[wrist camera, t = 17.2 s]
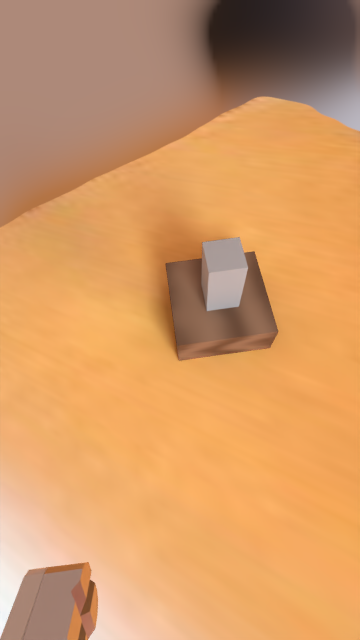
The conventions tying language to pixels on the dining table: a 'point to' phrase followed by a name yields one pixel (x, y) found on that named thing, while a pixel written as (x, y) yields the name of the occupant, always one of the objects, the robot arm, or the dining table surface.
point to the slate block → (223, 273)
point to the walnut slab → (218, 314)
